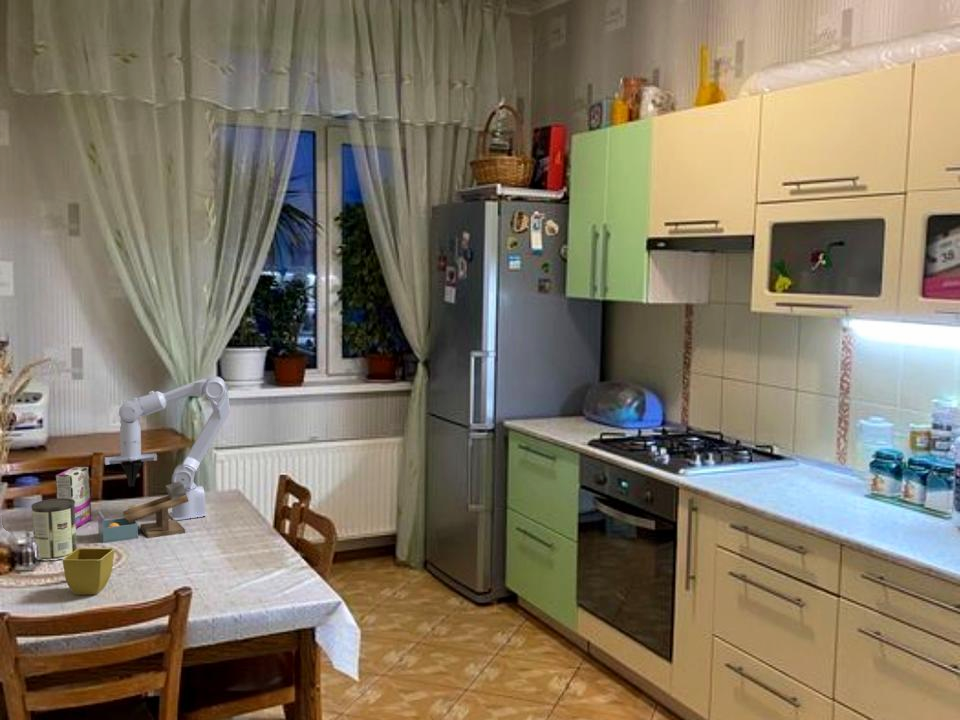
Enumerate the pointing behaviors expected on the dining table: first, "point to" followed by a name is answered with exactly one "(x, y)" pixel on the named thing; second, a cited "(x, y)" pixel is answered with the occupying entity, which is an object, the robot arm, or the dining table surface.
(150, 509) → the tipping chute
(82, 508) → the candy bar box
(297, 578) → the dining table surface
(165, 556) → the dining table surface
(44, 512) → the coffee can
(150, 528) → the chute stand
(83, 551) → the flower pot
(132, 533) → the blue open bin
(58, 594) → the dining table surface
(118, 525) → the ball
